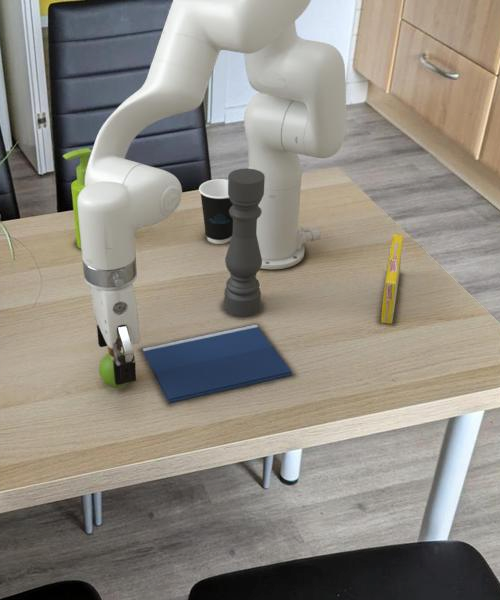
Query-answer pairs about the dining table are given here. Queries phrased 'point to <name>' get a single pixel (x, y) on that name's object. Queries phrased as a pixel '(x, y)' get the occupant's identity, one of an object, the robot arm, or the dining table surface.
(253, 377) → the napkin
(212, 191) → the dixie cup
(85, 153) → the soap dispenser
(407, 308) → the dining table surface
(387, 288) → the candy box
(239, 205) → the candle holder
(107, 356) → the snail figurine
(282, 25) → the robot arm
